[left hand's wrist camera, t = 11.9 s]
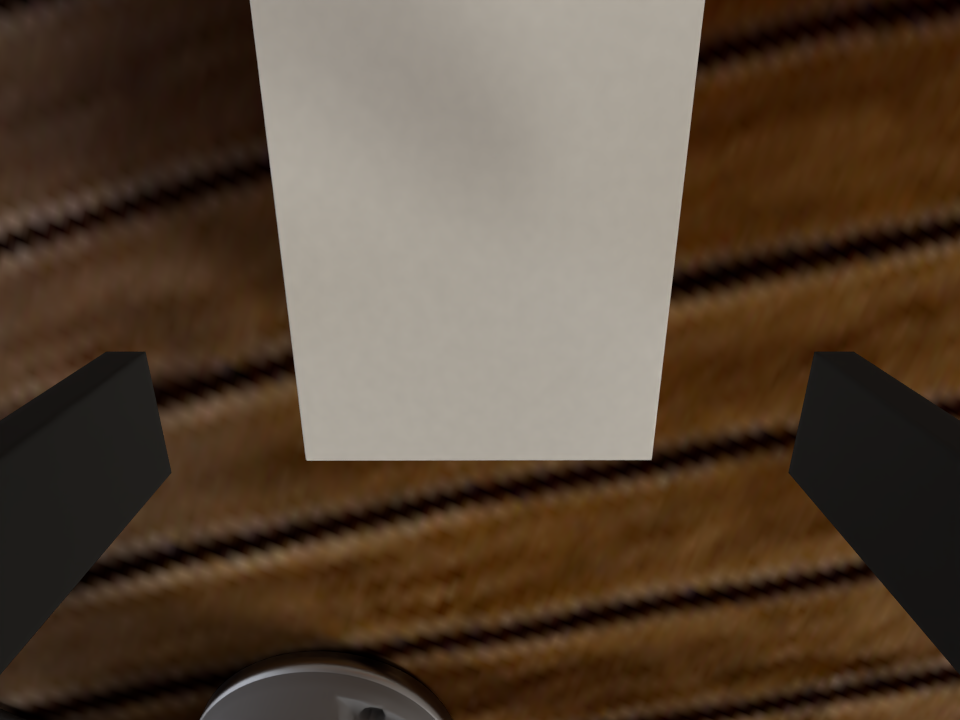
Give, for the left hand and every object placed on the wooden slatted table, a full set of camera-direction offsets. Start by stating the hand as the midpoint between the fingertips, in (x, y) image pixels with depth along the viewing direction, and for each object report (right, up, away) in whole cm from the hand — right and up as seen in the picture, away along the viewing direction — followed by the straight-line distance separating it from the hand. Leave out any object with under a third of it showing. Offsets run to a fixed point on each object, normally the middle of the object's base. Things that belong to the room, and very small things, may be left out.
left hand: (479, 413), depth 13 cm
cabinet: (0, +10, +12) cm, 16 cm away
